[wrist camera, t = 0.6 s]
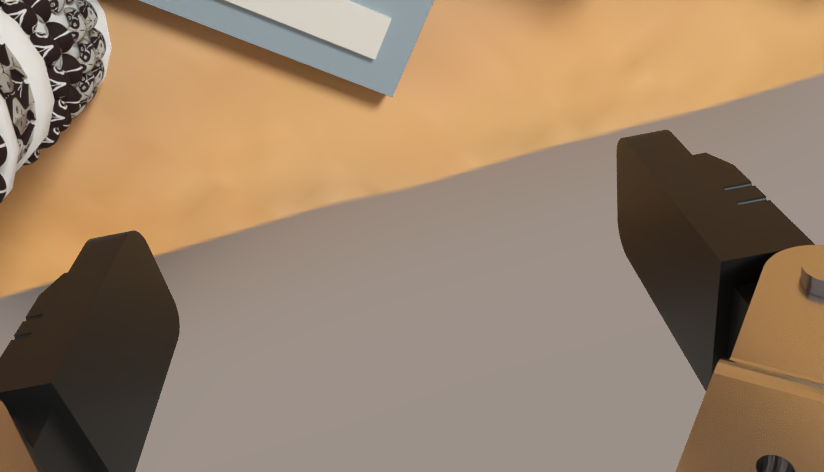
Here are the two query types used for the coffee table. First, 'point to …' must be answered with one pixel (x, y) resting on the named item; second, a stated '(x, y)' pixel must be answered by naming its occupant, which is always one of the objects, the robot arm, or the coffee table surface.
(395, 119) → the coffee table surface
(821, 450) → the robot arm
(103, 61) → the grey stacked tower
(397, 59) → the jig
